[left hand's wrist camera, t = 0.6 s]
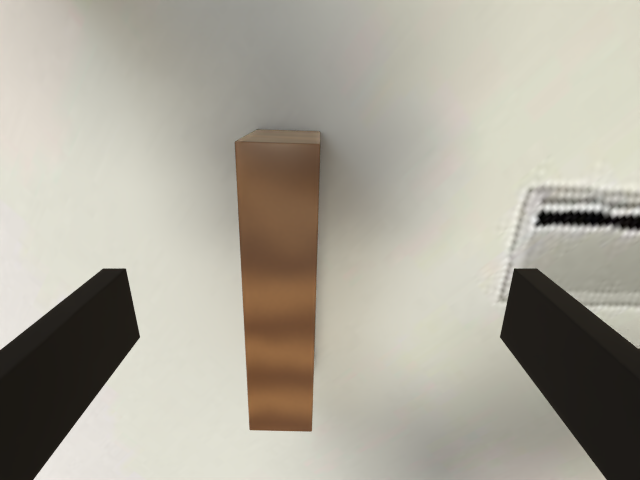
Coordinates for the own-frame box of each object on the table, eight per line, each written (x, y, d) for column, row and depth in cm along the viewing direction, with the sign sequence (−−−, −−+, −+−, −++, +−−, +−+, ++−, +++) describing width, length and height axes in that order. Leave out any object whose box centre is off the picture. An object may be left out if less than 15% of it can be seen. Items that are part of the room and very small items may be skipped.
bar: (256, 129, 32) (234, 141, 24) (320, 131, 32) (320, 143, 24) (263, 362, 41) (249, 430, 32) (313, 363, 41) (311, 432, 32)
